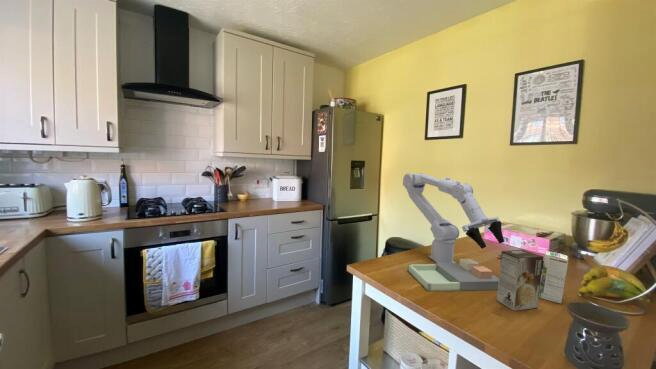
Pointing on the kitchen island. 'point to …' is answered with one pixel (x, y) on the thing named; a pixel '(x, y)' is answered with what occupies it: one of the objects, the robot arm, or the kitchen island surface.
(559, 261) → the syrup box
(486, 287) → the slate board
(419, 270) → the tray
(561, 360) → the kitchen island surface
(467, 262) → the tile
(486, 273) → the peach square block
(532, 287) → the coffee box
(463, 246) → the kitchen island surface
